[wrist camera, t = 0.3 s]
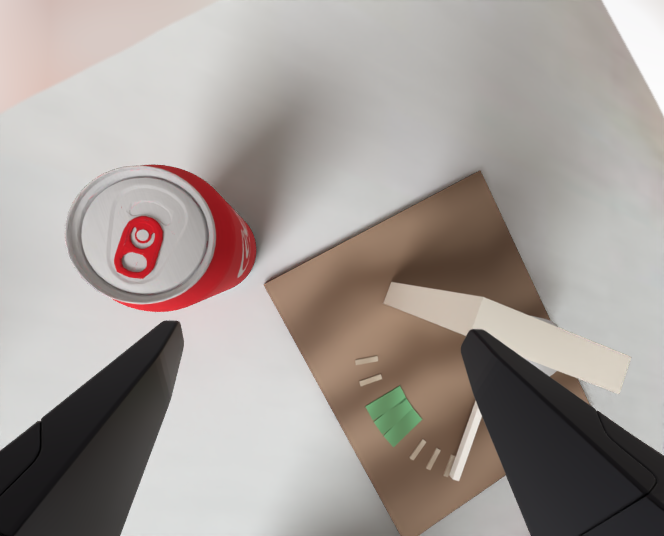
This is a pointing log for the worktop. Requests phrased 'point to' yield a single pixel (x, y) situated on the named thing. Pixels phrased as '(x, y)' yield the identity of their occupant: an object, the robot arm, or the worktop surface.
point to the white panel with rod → (511, 342)
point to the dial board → (409, 345)
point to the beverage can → (157, 238)
